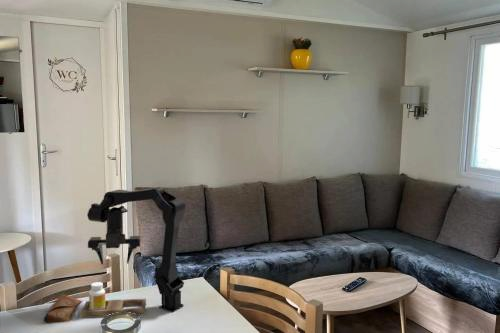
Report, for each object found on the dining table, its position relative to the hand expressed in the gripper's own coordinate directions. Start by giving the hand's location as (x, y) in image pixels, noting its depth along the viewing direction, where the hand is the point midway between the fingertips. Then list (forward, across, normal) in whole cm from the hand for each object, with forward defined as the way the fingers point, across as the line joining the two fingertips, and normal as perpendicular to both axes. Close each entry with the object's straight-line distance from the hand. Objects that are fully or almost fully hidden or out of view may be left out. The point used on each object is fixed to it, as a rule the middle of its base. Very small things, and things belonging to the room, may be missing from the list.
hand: (115, 263), depth 167 cm
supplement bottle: (+13, -5, -12) cm, 18 cm away
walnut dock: (+13, +1, -12) cm, 18 cm away
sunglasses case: (+14, -16, -10) cm, 24 cm away
